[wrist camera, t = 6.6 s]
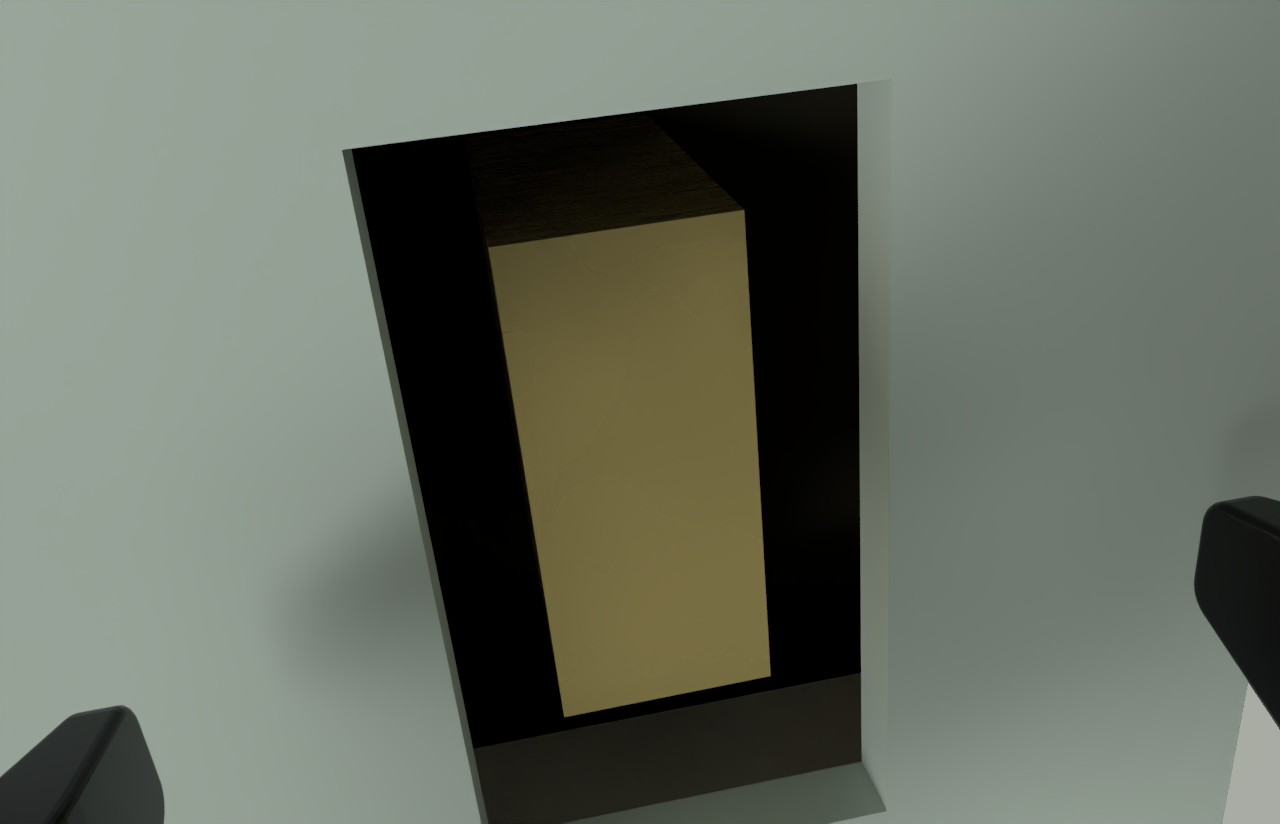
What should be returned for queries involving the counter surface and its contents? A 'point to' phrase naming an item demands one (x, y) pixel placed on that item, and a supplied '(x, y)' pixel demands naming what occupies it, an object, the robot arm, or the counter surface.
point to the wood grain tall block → (629, 405)
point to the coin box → (888, 402)
